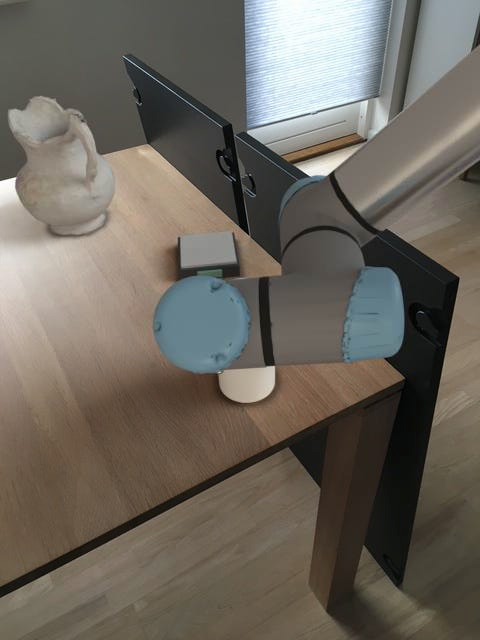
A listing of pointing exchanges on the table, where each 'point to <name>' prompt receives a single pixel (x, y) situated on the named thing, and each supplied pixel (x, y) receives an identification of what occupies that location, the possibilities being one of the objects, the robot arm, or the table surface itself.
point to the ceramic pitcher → (61, 168)
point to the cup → (247, 383)
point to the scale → (208, 255)
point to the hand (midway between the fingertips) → (247, 335)
